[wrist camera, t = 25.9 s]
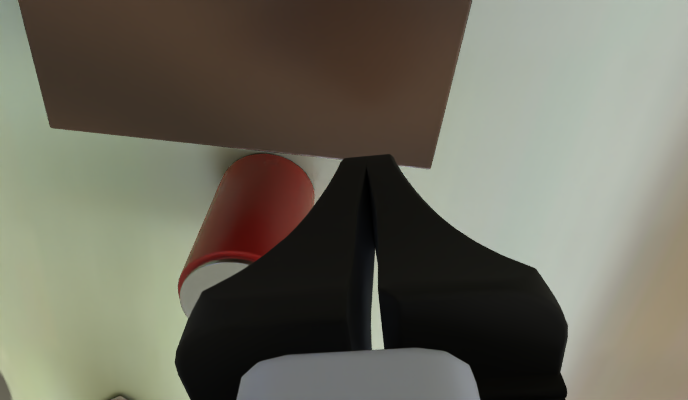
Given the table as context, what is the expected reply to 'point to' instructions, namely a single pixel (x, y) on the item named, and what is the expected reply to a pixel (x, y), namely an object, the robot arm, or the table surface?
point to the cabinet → (252, 72)
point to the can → (245, 221)
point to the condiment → (119, 398)
